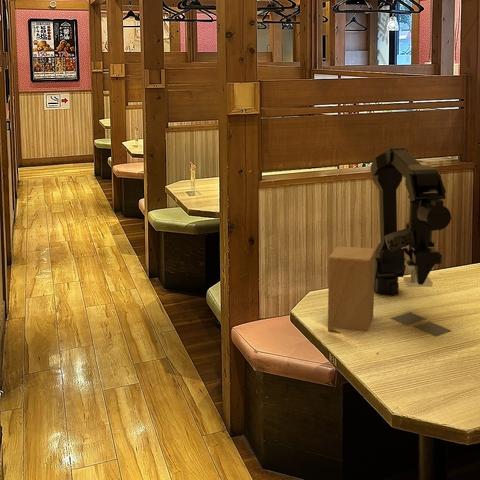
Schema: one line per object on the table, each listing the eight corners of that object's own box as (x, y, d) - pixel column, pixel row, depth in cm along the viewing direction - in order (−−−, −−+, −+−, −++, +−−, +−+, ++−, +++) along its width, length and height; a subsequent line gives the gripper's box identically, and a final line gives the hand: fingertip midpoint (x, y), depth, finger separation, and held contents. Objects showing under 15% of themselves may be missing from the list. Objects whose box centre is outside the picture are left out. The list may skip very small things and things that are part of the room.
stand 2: (412, 332, 166) (413, 326, 166) (429, 326, 169) (429, 321, 169) (435, 342, 160) (435, 336, 160) (451, 336, 163) (452, 330, 163)
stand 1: (389, 323, 172) (390, 318, 171) (410, 317, 175) (410, 312, 175) (406, 331, 167) (406, 325, 167) (426, 324, 171) (427, 318, 170)
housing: (403, 281, 168) (404, 260, 166) (427, 280, 168) (428, 259, 166) (407, 287, 164) (408, 265, 162) (432, 286, 163) (433, 265, 162)
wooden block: (373, 321, 173) (375, 248, 168) (367, 337, 164) (369, 259, 159) (335, 317, 176) (336, 245, 171) (327, 332, 167) (328, 256, 162)
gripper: (380, 212, 171) (378, 270, 175) (395, 230, 153) (393, 294, 157) (424, 211, 170) (421, 269, 174) (444, 229, 152) (440, 293, 156)
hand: (418, 281), depth 165 cm, fingers closed on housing, 4 cm apart
